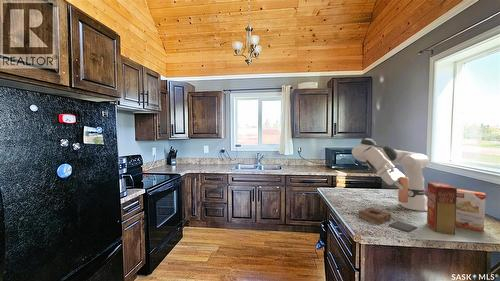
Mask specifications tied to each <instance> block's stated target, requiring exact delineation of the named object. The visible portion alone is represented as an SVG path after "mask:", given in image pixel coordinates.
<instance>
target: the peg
mask: <svg viewBox="0 0 500 281" xmlns="http://www.w3.org/2000/svg"><path fill="white" fill-rule="evenodd" d="M408 183H409V178H408V177H399V184H401V185H402V186H403V187H404V189H402V190H401V189H400V188H399V187H398V193H397V194H398V195H397V201H398V203H399V202H401V203H408Z"/></svg>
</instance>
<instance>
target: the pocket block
mask: <svg viewBox="0 0 500 281" xmlns="http://www.w3.org/2000/svg"><path fill="white" fill-rule="evenodd" d="M358 218H359V219H362V220H365V221H367V222H371V223H372V224H376V225H383V224H385V223H387V222H390V221H392V213H390V212H386V211H383V210H379V209H376V208H372V207H367V208H364V209H361V210H359V211H358Z"/></svg>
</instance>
